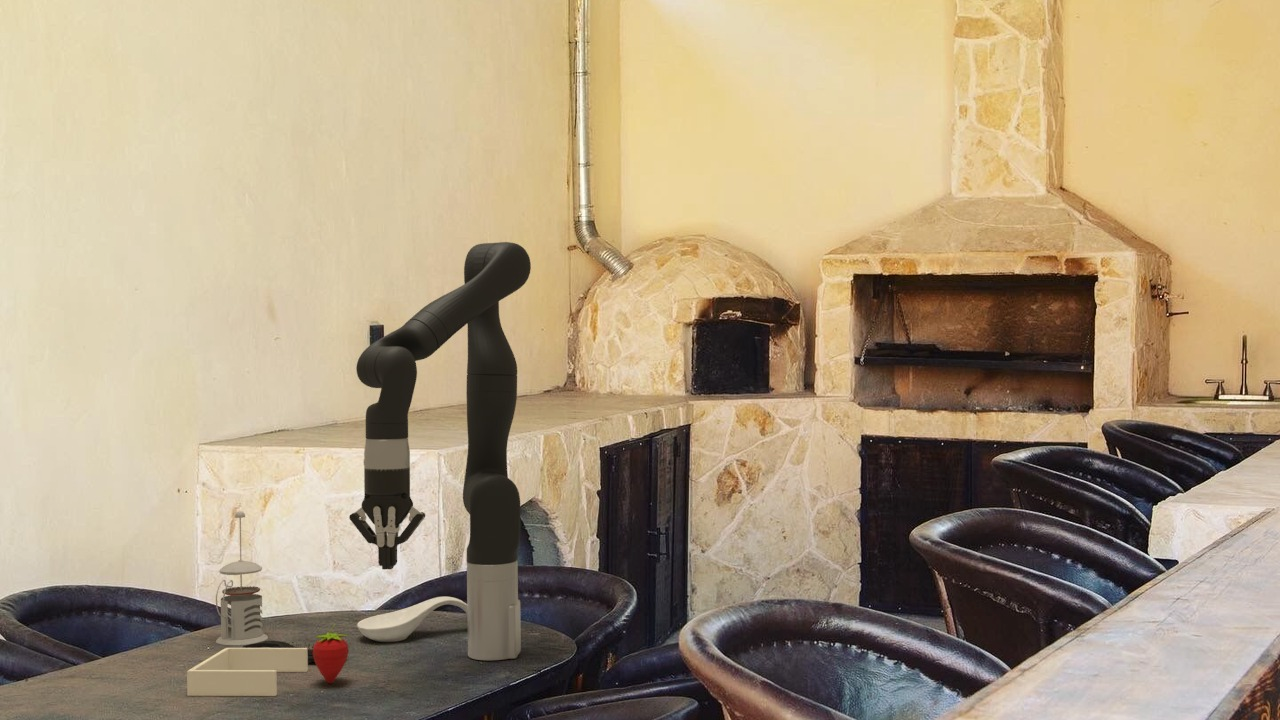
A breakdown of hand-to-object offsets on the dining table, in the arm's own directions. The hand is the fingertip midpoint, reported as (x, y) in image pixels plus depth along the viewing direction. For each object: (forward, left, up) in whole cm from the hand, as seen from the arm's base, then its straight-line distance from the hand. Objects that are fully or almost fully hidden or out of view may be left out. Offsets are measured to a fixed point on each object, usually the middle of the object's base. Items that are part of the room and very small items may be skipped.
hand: (387, 568), depth 218 cm
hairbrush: (+24, -20, -20) cm, 37 cm away
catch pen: (+24, 0, -19) cm, 31 cm away
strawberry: (+10, 0, -20) cm, 22 cm away
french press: (+38, -32, -20) cm, 53 cm away
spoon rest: (+4, -37, -20) cm, 42 cm away
